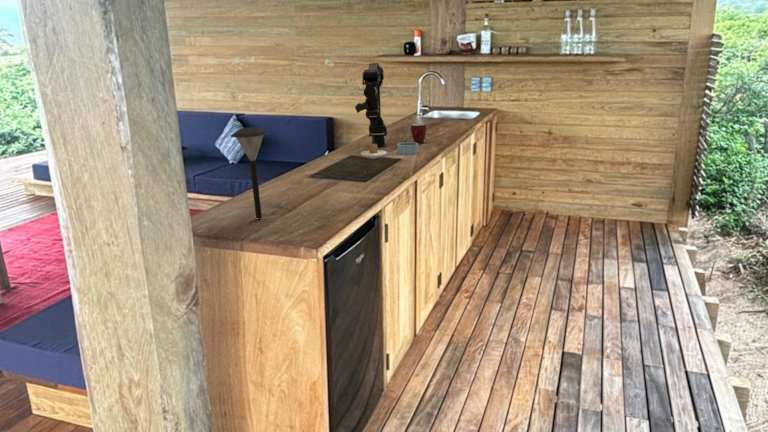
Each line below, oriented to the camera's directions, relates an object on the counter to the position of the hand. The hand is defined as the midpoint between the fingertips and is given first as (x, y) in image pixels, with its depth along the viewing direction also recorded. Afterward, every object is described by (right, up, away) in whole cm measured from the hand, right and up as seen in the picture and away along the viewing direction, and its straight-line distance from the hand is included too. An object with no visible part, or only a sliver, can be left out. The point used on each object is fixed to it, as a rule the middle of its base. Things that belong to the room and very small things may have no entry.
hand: (373, 128), depth 292 cm
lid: (0, -12, +4) cm, 12 cm away
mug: (+24, -4, +30) cm, 38 cm away
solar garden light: (-36, -44, -93) cm, 109 cm away
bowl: (+17, -12, +3) cm, 21 cm away
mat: (0, -12, +4) cm, 13 cm away
